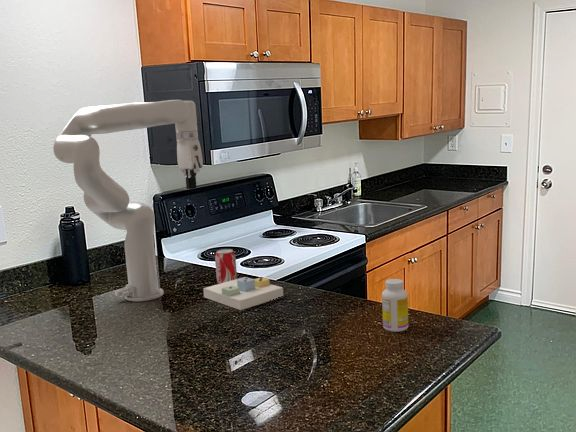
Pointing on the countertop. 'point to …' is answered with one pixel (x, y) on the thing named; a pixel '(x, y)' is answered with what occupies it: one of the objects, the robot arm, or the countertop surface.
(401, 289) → the supplement bottle
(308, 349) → the countertop surface
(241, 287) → the tile two pip
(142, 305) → the countertop surface
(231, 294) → the tile one pip
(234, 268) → the soda can
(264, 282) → the tile three pip
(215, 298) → the keypad board
